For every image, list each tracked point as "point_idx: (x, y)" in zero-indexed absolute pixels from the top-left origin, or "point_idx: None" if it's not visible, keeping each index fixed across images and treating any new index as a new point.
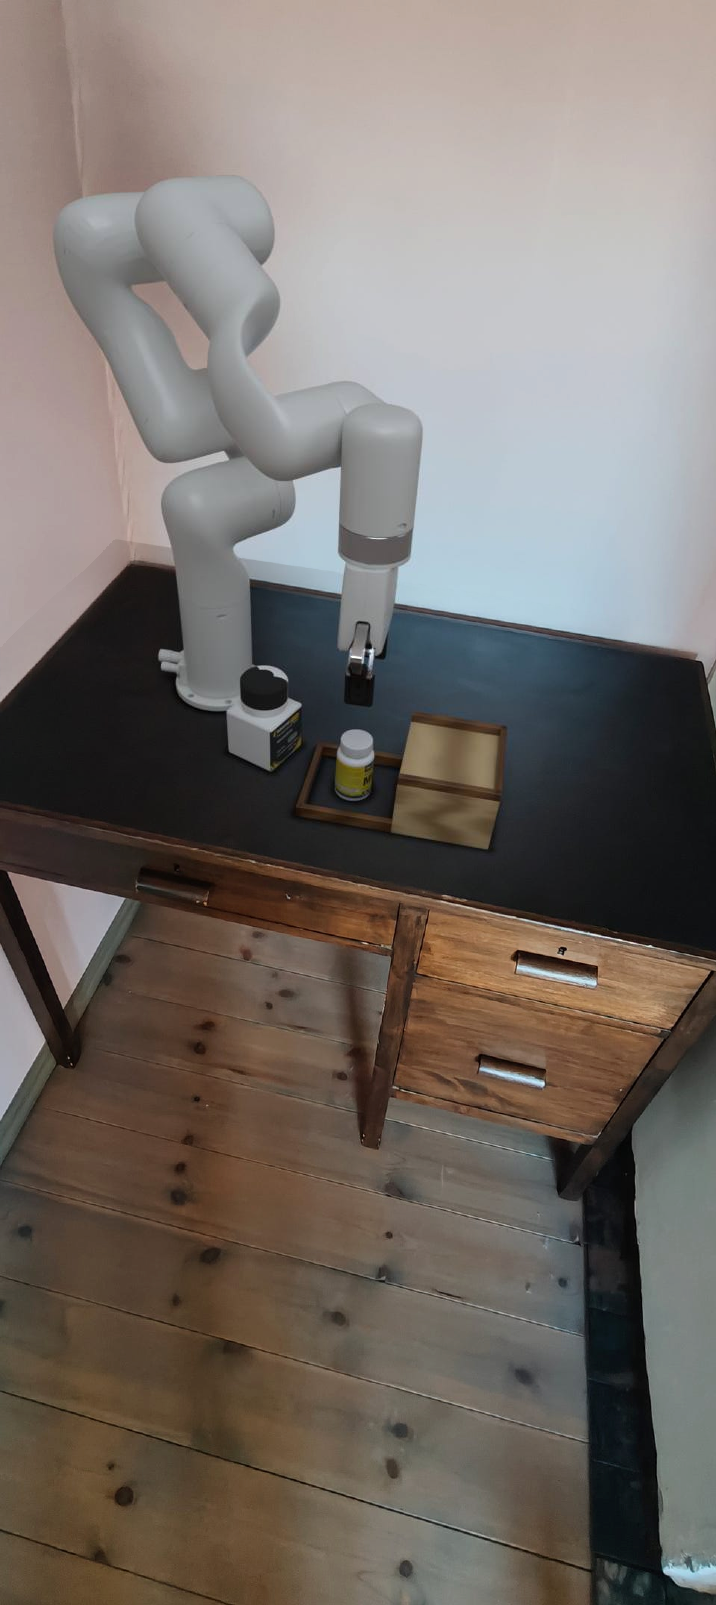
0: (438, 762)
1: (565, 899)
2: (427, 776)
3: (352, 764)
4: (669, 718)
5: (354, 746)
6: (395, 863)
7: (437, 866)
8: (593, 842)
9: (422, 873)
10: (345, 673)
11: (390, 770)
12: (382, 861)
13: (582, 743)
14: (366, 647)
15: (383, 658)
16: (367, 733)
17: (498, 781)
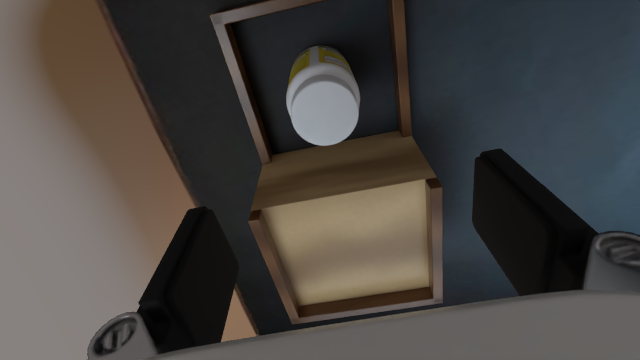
0: (334, 241)
1: (271, 307)
2: (294, 238)
3: (288, 110)
4: None
5: (299, 120)
6: (219, 177)
7: (244, 215)
8: None
9: (224, 206)
10: (140, 302)
11: (388, 112)
12: (213, 163)
13: (508, 284)
14: (495, 196)
15: (474, 225)
16: (351, 127)
17: (315, 317)
